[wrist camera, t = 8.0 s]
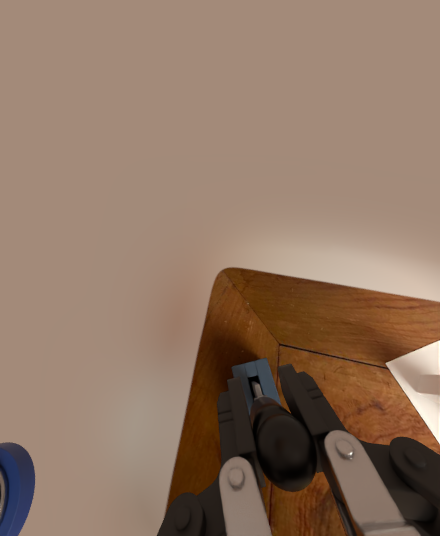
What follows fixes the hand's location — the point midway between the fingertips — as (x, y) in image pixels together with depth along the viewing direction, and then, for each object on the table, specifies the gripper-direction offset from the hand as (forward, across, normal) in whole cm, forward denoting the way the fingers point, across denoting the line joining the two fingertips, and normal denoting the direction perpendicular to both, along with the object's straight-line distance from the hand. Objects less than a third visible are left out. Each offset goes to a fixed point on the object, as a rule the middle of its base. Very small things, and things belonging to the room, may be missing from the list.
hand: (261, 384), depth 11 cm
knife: (+9, 0, +12) cm, 15 cm away
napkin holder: (+7, -24, +20) cm, 32 cm away
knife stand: (+12, 0, +15) cm, 19 cm away
